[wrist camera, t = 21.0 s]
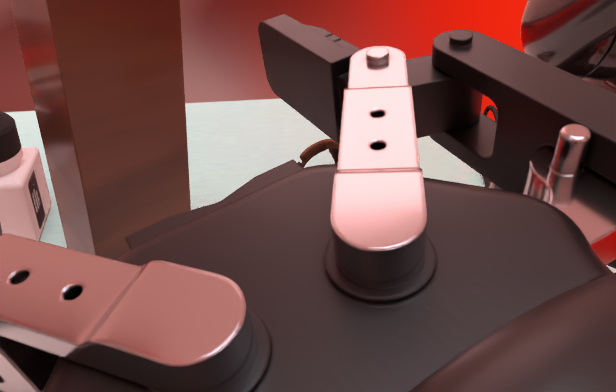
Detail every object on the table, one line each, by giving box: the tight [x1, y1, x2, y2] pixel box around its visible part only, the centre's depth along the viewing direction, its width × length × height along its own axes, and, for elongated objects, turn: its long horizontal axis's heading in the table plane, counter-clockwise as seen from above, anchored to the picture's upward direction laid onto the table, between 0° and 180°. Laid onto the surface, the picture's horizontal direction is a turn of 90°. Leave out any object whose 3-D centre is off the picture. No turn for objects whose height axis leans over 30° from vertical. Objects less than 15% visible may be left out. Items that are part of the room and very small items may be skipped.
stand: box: [10, 0, 191, 260], centre depth 42 cm, size 10×12×32 cm
